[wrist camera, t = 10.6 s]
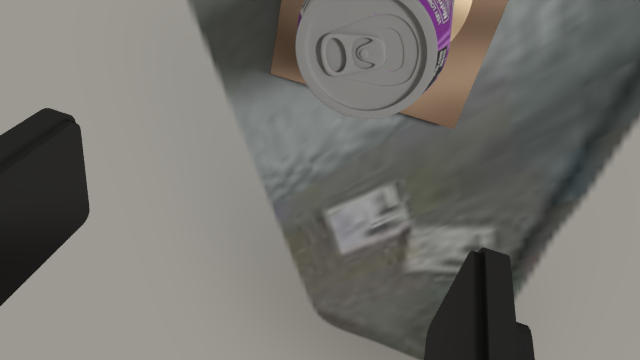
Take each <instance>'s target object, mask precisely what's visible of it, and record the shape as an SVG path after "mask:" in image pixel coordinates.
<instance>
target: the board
mask: <svg viewBox="0 0 640 360" xmlns="http://www.w3.org/2000/svg"><path fill="white" fill-rule="evenodd" d="M303 3H304V0H281V7H280V13H279V20H278V26H277V33H276V40H275V46H274V53H273V59H272V66H271V72H270V74H273V75H277V76H280V77H283V78H287V79H290V80H293V81H297V82H300V83H303V84H306V83H305V81H304V79H303V77H302V75H301V73H300V70H299V67H298V63H297V58H296V49H295V44H296V35H297V25H298V18H299V14H300V10H301V8H302V5H303ZM507 3H508V0H454V9H453V19H452V29H451V39H450V47H449V52H448V56H447V59H446V62H445V64H444V67H443V69H442V71H441V73H440V74H439V76H438V78H437V79H436V80H435V82H434V83H433V84H432V86H431V87H430V88H429V89H428V90H427V91H426V92H424V93H423V94H422V95H421V96H420V97H419V98H418V99H417V100H416V101H415V102H414V103H413V104H411V105H410V106H409V107H407V108H406V109H404V110H402V111H400V113H403V114H406V115H410V116H413V117H416V118H420V119H423V120H426V121H430V122H433V123H436V124H439V125H443V126H446V127H449V128H453V129H454V128H455V126H456V123H457V121H458V119H459V116H460V114H461V111H462V109H463V107H464V104H465V102H466V100H467V97H468V95H469V92H470V90H471V88H472V85H473V83H474V81H475V78H476V76H477V74H478V71H479V69H480V66H481V64H482V62H483V59H484V57H485V55H486V52H487V50H488V48H489V45H490V43H491V40H492V38H493V36H494V33H495V31H496V29H497V26H498V24H499V22H500V19H501V17H502V14H503V12H504V10H505V7H506V5H507Z"/></svg>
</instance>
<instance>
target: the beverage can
mask: <svg viewBox="0 0 640 360" xmlns="http://www.w3.org/2000/svg"><path fill="white" fill-rule="evenodd" d="M453 9H454V0H304V3H303V5H302V8H301V10H300V14H299V18H298V25H297V35H296V44H295V49H296V58H297V63H298V67H299V70H300V73H301V75H302V77H303V79H304V81H305V83H306V84H307V86H308V87H309V89H310V90H311V91H312V93H313V94H314V95H315V96H316V97H317V98H318V99H319V100H320V101H321V102H323V103H324V104H325V105H327V106H328V107H330V108H331V109H333V110H335V111H337V112H339V113H341V114H344V115H347V116H350V117H355V118H362V119H376V118H383V117H387V116H390V115H393V114H396V113H398V112H400V111H402V110H404V109H406V108H407V107H409V106H410V105H411V104H413V103H414V102H415V101H416V100H417V99H418V98H419V97H420V96H421V95H422V94H423V93H424V92H426V91H427V90H428V89H429V88H430V87H431V86H432V84H433V83H434V82H435V80H436V79H437V78H438V76H439V74H440V73H441V71H442V69H443V67H444V64H445V62H446V59H447V56H448V52H449V47H450V39H451V29H452V19H453Z"/></svg>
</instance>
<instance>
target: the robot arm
mask: <svg viewBox="0 0 640 360" xmlns="http://www.w3.org/2000/svg"><path fill="white" fill-rule="evenodd" d="M88 215H89V200H88V191H87V183H86V174H85V165H84V156H83V147H82V138H81V130H80V126H79V125H78V124H76V122H75V119H74V118H73V117H72V116H71V115H68V114H66V113H62V112H59V111H56V110H53V109H50V108H45V109H42V110H40V111H39V112H37V113H35V114H34V115H32V116H31V117H29V118H27V119H26V120H24V121H23V122H22V123H20V124H18V125H16V126H15V127H13V128H12V129H10V130H8V131H7V132H5V133H4V134H2V135H0V306H1V305H2V304H3V303H4V302H5V301H6V300H7V299H8V298H9V297H10V296H11V295H12V294H13V293H14V292H15V291H16V290H17V289H18V288H19V287H20V286H21V285H22V284H23V283H24V282H25V281H26V280H27V279H28V278H29V277H30V276H31V275H32V274H33V273H34V272H35V271H36V270H37V269H38V268H39V267H40V266H41V265H42V264H43V263H44V262H45V261H46V260H47V259H48V258H49V257H50V256H51V255H52V254H53V253H54V252H55V251H56V250H57V249H58V248H59V247H60V246H62V245H63V244H64V242H66V240H68V238H70V236H72V235H73V233H75V232H76V231H77V230H78V229H79V228H80V227H81V226H82V225H83V224H84V222H85V221H86V219H87V217H88ZM424 360H535V358H534V350H533V342H532V335H531V330H530V329H529V327H528V326H527V325H524V324H521V323H518V322H516V316H515V305H514V294H513V283H512V273H511V262H510V257H509V256H508V255H506V254H503V253H499V252H496V251H493V250H490V249H487V248H481V249H480V250H479V252H475V251H471V252H470V253H469V254H468V256H467V258H466V259H465V261H464V263H463V265H462V267H461V269H460V271H459V272H458V274H457V276H456V278H455V280H454V282H453V283H452V285H451V287H450V289H449V291H448V293H447V294H446V296H445V298H444V300H443V302H442V304H441V306H440V307H439V309H438V311H437V313H436V315H435V317H434V318H433V320H432V322H431V324H430V326H429V329H428V333H427V337H426V346H425V357H424Z"/></svg>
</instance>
